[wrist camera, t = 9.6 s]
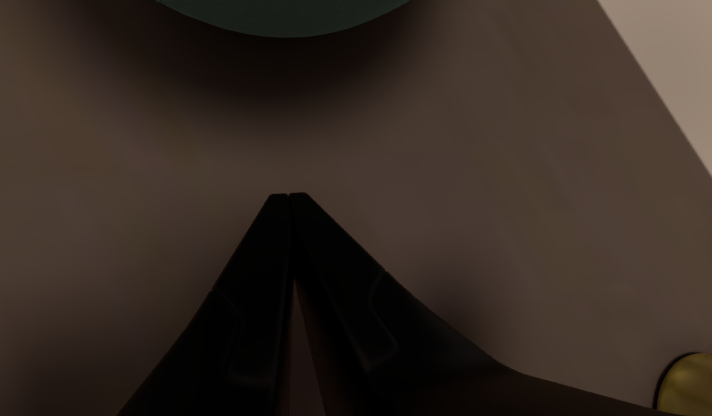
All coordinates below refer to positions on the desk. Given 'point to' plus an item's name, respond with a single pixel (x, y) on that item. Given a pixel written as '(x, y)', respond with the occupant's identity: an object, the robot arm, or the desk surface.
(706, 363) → the vase
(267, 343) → the robot arm
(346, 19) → the teal bowl
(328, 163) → the desk surface
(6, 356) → the desk surface
